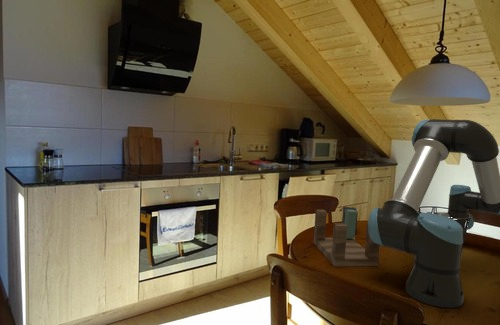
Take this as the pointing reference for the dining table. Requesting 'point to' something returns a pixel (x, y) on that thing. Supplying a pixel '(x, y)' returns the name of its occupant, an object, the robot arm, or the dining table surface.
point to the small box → (344, 215)
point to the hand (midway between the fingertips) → (384, 220)
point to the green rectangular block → (350, 223)
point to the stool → (343, 245)
